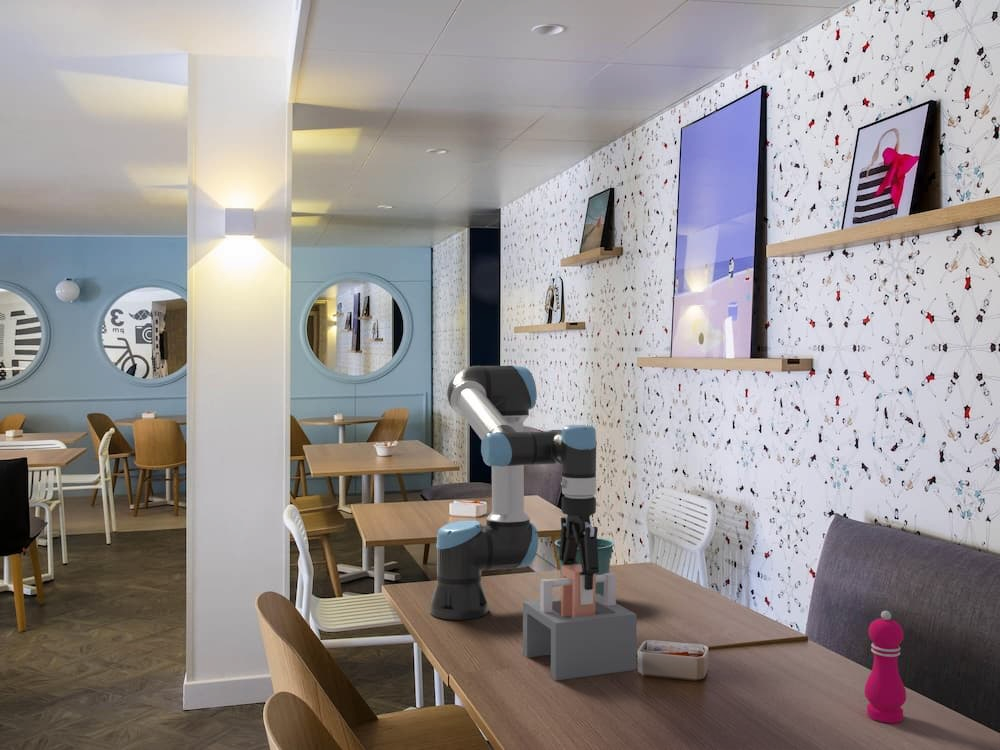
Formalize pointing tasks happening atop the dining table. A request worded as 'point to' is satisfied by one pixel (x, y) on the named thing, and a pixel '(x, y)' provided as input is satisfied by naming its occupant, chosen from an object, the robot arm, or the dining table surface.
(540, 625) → the gray square frame
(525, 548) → the robot arm
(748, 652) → the dining table surface
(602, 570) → the flower pot
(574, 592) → the coral u-channel block
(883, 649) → the pepper mill
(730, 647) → the dining table surface
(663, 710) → the dining table surface
